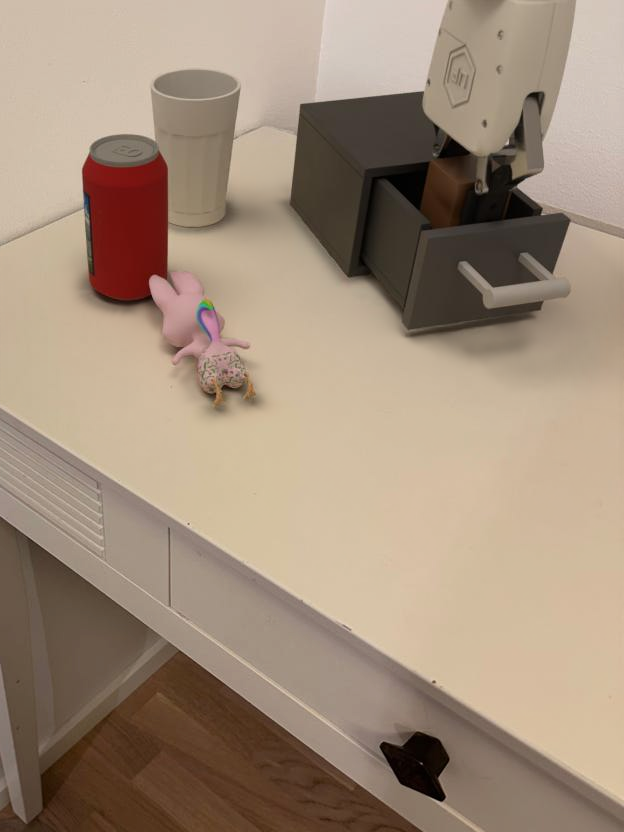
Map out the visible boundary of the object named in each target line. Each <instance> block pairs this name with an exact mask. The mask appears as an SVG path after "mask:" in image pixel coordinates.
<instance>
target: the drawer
mask: <svg viewBox="0 0 624 832" xmlns="http://www.w3.org/2000/svg"><path fill="white" fill-rule="evenodd" d="M427 173H428V171H421V172H413V173H405V174H396V175H388V176H379V177H372V184H371V190H370V196H369V202H368V208H367V214H366V220H365V226H364V232H363V238H362V244H361V250H360V256H359V257H360V258H361V259H362V260H363V261H364V263H365V264H366V265H367V266H368V267H369V269H370V270H371V271H372V272H373V273H372V274H373V275H374V276H375V277H376V278H377V280H378V281H379V282H380V283H381V285H382V286H383V287H384V288H385V289H386V290H387V292H389V294H390V295H391V296H392V297H393V298H394V300H395V302H397V303H398V305H399V306H400V307H401V308H402V309H403V314H402V319H401V323H402V325H403V326H404V327H405V328H406V329H407V331H412V330H419V329H424V328H425V329H427V328H432V327H439V326H445V325H451V324H453V325H454V324H458V323H459V324H460V323H465V322H473V321H479V320H485V319H494V318H500V317H507V316H513V315H520V314H526V313H533V312H539V311H541V310H542V307H543V305H544V302H545V301H551V300H557V299H564V298H567V297H568V296H569V295H570V294H571V290H572V286H571V281H570V280H569V279H568V278H567V277H559V278H557V277H556V276H555V275H554V271H555V268H556V265H557V262H558V260H559V257H560V253H561V251H562V248H563V245H564V242H565V239H566V236H567V232H568V231H569V227H570V224H571V222H572V221H571V220H572V219H571V218H570V217H568V216H567V215H566V214H565V213H564V212H556V213H555V212H554V213H549V214H543V210H544V208H543V206H541V205H540V204H538V203H537V202H536V201H535V200H534V199H532V198H531V197H530V196H528V195H527V194H526V193H525V192H523V191H522V189H520V188H518V187H517V188H516V190H515V191H512V192H511V196H510V199H509V203H508V206H507V210H506V214H505V217H504V220H502V221H494V222H486V223H478V224H471V225H463V226H455V227H448V228H440V229H432V228H431V227H430V224H431V223H430V221H428V220H427V219H426V218H425V217H424V216H423V215H422V214H421V213H420V212H419V211H420V206H421V202H422V197H423V192H424V187H425V182H426V178H427Z"/></svg>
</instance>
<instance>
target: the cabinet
mask: <svg viewBox="0 0 624 832" xmlns="http://www.w3.org/2000/svg"><path fill="white" fill-rule="evenodd" d="M423 95H424V90H422V91H421V90H420V91H412V92H403V93H402V92H401V93H393V94H392V93H391V94H383V95H372V96H364V97H354V98H344V99H334V100H325V101H314V102H305V103H300V104H299V112H298V113H299V114H298V121H297V132H296V141H295V142H296V143H295V150H294V151H295V152H294V160H293V161H294V162H293V171H292V181H291V190H290V200H289V204H290V206H292V208H293V209H294V211H295V212H296V213H297V214H298V215H299V217H300V218H301V220H303V222H304V223H305V224H306V225H307V227H308V228H309V230H310V231H311V232H312V233H313V235H314V236H315V237H316V238H317V240H318V241H319V243H321V245H322V246H323V247H324V248H325V250H326V251H327V252H328V254H330V256H331V258H333V260H334V262H336V263H337V265H338V266H339V267H340V269H341V270H342V271H343V272H344V274H345V275H346V276H347V277H355V276H362V275H363V276H364V275H369V274H370V275H371V274H374V273H373V272H372V271H371V270H370V269H369V267H368V266H367V265H366V264H365V263H364V261H363V260H362V259H361V258H360V257H359V256H360V250H361V244H362V238H363V232H364V226H365V220H366V214H367V208H368V202H369V196H370V190H371V184H372V177H379V176H388V175H396V174H405V173H413V172H421V171H428V168H429V163H430V160H431V159H436V158H434V157H433V153H432V148H433V145H434V142H435V139H436V134H435V128H434V125H433V122H432V121H431V120H430V119H429V118H428V117H427V116H426V114H425V112H424V110H423V107H422V102H423ZM469 155H474V154H472V153H470V154H469ZM437 159H439V158H437ZM493 160H494V161H495V162H496V163H498V164H499V165H500V166H502V165H504V162H505V157H497V158H493Z"/></svg>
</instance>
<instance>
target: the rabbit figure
mask: <svg viewBox="0 0 624 832" xmlns="http://www.w3.org/2000/svg"><path fill="white" fill-rule="evenodd" d="M169 276H170V278H171V281H172V283H173V286H174V287H175V288H173V286H172V285H171V284H170V282H169V281H168V279H167V280H165V279H163V278H161V277H159V276H157V275H153V276H151V278H150V280H149V286H150V290H151V296H152V300H153V302H154V303H155V304H156V306H157V307H158V308H159V309H160V310H161V313H162V315H163V321H162V328H161V337H162V338H163V339H164V341H165V342H167V343H168V344H169V345H171V346H173V347H177V348H181V349H180V350H178V351H177V353H176V354H175V355H174V356H173V358H172V359H171V365H173V366H177V365H180V363H181V360H182V359H183V358H185V357H189V356H193V357H194V358H195V359H196V360H197V361H198V364H197V378H198V383H199V385H200V387H201V389H202V390H203V391H204V392H206V393H207V394H216V395H215V400H214V401H213V403H212V405H213V407H215V405H216V409H217V410H218V409H219V404H221V403H224V404H225V405H226V404H227V403H226V401H225V400H224V399H223V394H222V391H223V390H221V389H222V388H223V386H227V387H229V388H232V389H238V388H241V386H243V385H244V384H245V382H246V383H247V389H246V390H247V391H246V393H245V395H244V396H243V400H245V398H246V397H248V400H249V401H250V402H252V398H251V397H252V396H253V397H254V398H257V397H256V392H255V391H254V386H253V385H254V382H251V379H250V374H249V372H248V371H247V369H246V367H245V364H244V362H243V360H242V358H241V356H240V354H239V353H238V351H236V350H235V349H233V348H232V347H237V348H240V349H242V350H249V349H250V348H251V344H250V342H248V341H244V340H240V339H235V338H225V337H224V338H223V337H221V336H220V335H221V333H222V332H223V330H224V328H225V324H226V321H225V318H224V317H223V316H222V315H221V314H220V313H219V312H218V311H217V310H216V309H215V306H214V305H213V302H212V300H209V298H207V297H206V296H205V288H204V286H203V284H202V282H201V281H200V280H199V279H198V278H197V277H196V276H195V275H194V274H193V273H191V272H188V271H184V270H172V271H171V270H170V271H169ZM175 289H176V290H175ZM176 291H177V292H176ZM177 293H178V294H177Z"/></svg>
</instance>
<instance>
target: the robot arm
mask: <svg viewBox="0 0 624 832" xmlns="http://www.w3.org/2000/svg"><path fill="white" fill-rule="evenodd" d="M576 6H577V0H447V1H446V6H445V8H444V11H443V15H442V17H441V18H442V19H441V21H440V24H439V25H440V26H439V29H438V32H437V36H436V40H435V43H434V47H433V52H432V55H431V60H430V64H429V68H428V71H427V76H426V80H425V86H424V90H423V91H424V95H423V102H422V107H423V110H424V112H425V114H426V116H427V117H428V118H429V119H430V120H431V121H432V122H433V125H434V128H435V134H436V139H435V142H434V145H433V148H432V153H433V157H434V158H436V159H437V158H439V159H440V158H448V157H457V156H465V155H469V154H470V153H472V154H474V155H476V156H478V158H477V167H476V176H475V186H474V188H475V189H471V190H468V191H467V195H466V199H465V203H464V207H463V211H462V216H461V220H460V224H459V226H463V225H471V224H478V223H486V222H494V221H502V219H503V215H504V211H505V208H506V204H507V201H508V197H509V193H510V192H511V191H515V190H516V188H518V185H520V184H521V183H523V182H525V180H526V179H529V178H532V177H534V176H537V175H540V174H541V173H543V171H544V168H545V160H544V149H543V148H544V147H543V142H544V140H545V138H546V135H547V133H548V131H549V128H550V125H551V122H552V118H553V116H554V113H555V109H556V105H557V102H558V98H559V95H560V91H561V86H562V83H563V78H564V73H565V69H566V64H567V59H568V55H569V50H570V44H571V41H572V40H571V39H572V33H573V27H574V21H575V14H576ZM507 142H508V144H507ZM497 157H505V162H504V165H502V166H500V167H498V168H497V169H496V170H494V171H493V172H492V165H493V158H497Z"/></svg>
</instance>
